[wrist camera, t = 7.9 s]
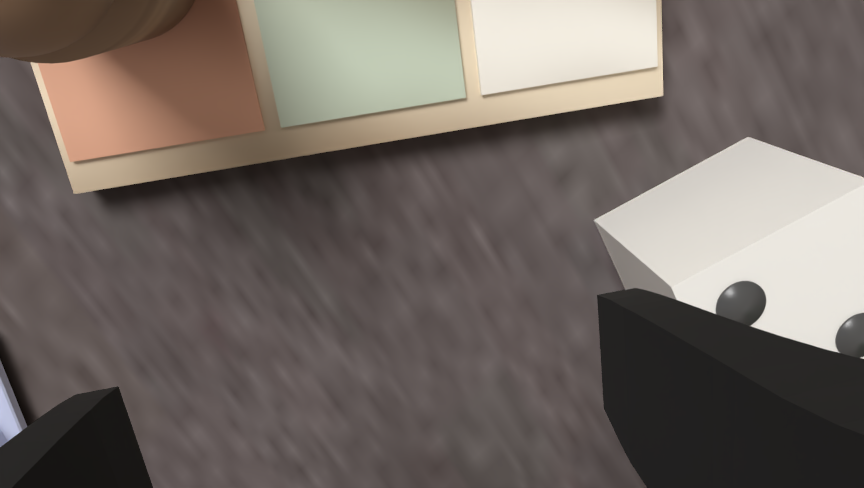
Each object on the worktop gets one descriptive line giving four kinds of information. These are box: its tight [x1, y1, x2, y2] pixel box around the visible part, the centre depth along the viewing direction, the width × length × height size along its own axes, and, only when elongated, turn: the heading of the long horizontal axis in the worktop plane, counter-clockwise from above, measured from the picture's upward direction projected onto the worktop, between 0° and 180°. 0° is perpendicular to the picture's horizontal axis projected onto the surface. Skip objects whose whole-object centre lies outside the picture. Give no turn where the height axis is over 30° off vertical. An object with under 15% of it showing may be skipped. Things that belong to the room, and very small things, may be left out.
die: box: [594, 137, 864, 359], centre depth 19 cm, size 5×5×5 cm
